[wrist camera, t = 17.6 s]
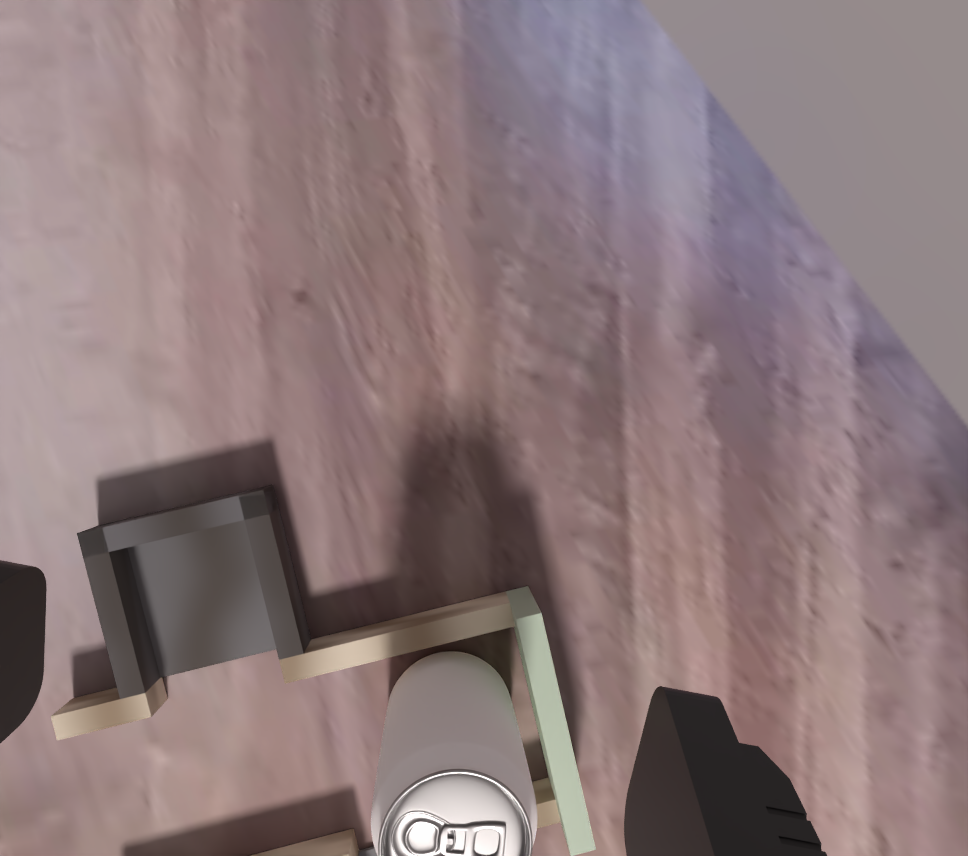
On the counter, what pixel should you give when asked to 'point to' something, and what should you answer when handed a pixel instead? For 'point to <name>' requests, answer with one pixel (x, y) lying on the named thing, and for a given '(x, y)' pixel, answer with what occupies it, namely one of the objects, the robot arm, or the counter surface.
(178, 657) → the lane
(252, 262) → the counter surface
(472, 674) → the can
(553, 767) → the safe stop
